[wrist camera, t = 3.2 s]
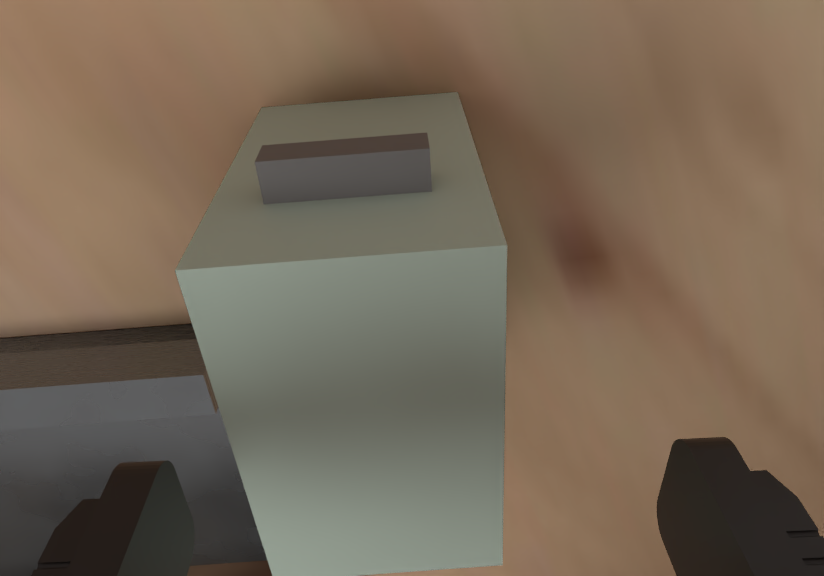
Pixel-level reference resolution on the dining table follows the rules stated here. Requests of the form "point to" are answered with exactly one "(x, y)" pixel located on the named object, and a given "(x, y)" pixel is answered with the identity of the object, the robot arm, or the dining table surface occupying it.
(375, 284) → the cabinet
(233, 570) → the wall board
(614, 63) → the dining table surface
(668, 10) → the dining table surface
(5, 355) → the dark grey flat slab
